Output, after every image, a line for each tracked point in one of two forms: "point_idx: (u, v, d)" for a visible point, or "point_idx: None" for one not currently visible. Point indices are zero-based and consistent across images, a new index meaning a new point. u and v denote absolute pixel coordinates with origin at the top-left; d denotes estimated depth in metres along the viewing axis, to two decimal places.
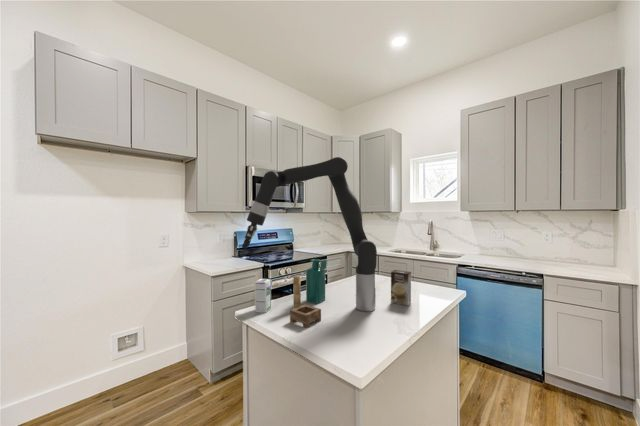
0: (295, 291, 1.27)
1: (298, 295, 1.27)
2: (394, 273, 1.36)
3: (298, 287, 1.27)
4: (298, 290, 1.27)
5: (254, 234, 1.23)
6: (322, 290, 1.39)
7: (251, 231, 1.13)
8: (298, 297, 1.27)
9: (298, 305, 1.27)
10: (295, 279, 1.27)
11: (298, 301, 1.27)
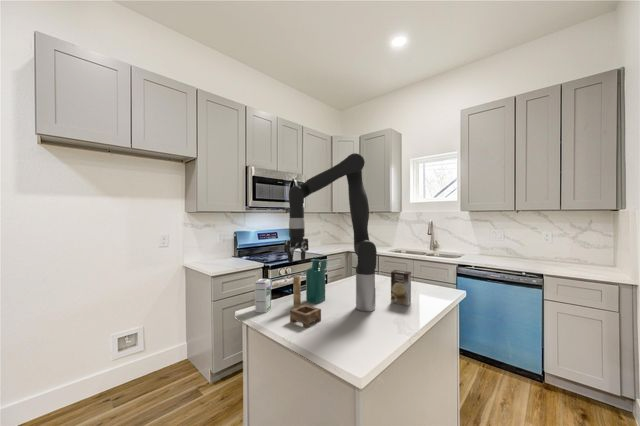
0: (295, 291, 1.27)
1: (298, 295, 1.27)
2: (394, 273, 1.36)
3: (298, 287, 1.27)
4: (298, 290, 1.27)
5: (303, 247, 1.29)
6: (322, 290, 1.39)
7: (287, 245, 1.23)
8: (298, 297, 1.27)
9: (298, 305, 1.27)
10: (295, 279, 1.27)
11: (298, 301, 1.27)
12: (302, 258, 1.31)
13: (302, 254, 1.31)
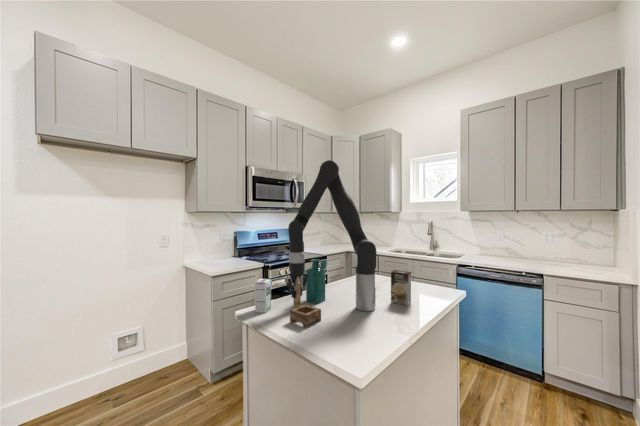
0: None
1: (298, 295, 1.27)
2: (394, 273, 1.36)
3: (298, 287, 1.27)
4: (298, 290, 1.27)
5: (301, 282, 1.28)
6: (322, 290, 1.39)
7: (288, 283, 1.24)
8: (298, 297, 1.27)
9: (298, 305, 1.27)
10: None
11: (298, 301, 1.27)
12: None
13: None
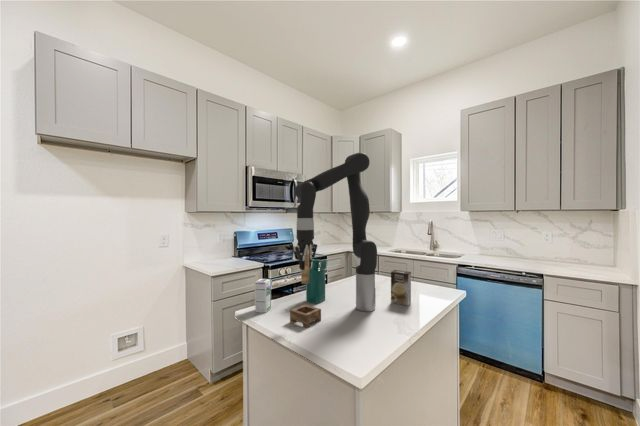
0: None
1: (307, 266, 1.13)
2: (394, 273, 1.36)
3: (307, 257, 1.13)
4: (307, 261, 1.13)
5: (310, 252, 1.14)
6: (322, 290, 1.39)
7: (296, 252, 1.09)
8: (307, 269, 1.13)
9: (307, 278, 1.13)
10: None
11: (307, 273, 1.13)
12: None
13: None
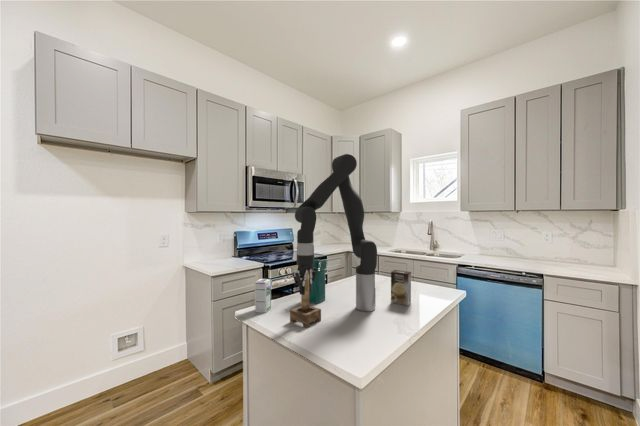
0: None
1: (307, 291, 1.13)
2: (394, 273, 1.36)
3: (307, 282, 1.13)
4: (307, 286, 1.13)
5: (310, 276, 1.14)
6: (322, 290, 1.39)
7: (296, 278, 1.09)
8: (307, 294, 1.13)
9: (307, 303, 1.13)
10: None
11: (307, 298, 1.13)
12: None
13: None
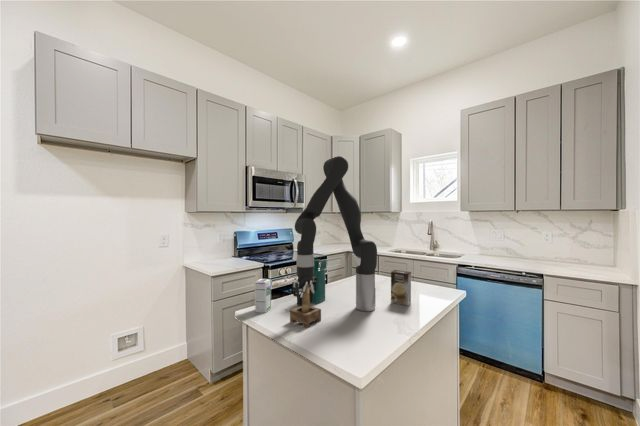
0: (303, 301, 1.12)
1: (307, 305, 1.13)
2: (394, 273, 1.36)
3: (307, 296, 1.13)
4: (307, 300, 1.13)
5: (311, 287, 1.15)
6: (322, 290, 1.39)
7: (295, 288, 1.09)
8: (307, 308, 1.13)
9: None
10: None
11: (307, 312, 1.13)
12: (310, 300, 1.16)
13: (310, 295, 1.16)
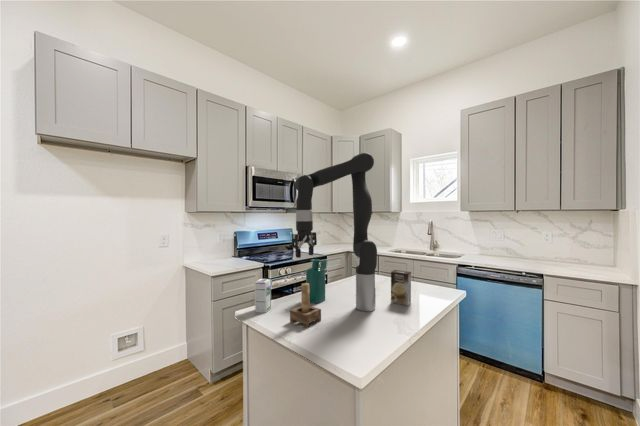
0: (303, 301, 1.12)
1: (307, 305, 1.13)
2: (394, 273, 1.36)
3: (307, 296, 1.13)
4: (307, 300, 1.13)
5: (311, 241, 1.21)
6: (322, 290, 1.39)
7: (294, 239, 1.14)
8: (307, 308, 1.13)
9: None
10: (303, 287, 1.12)
11: (307, 312, 1.13)
12: (310, 253, 1.22)
13: (310, 249, 1.23)
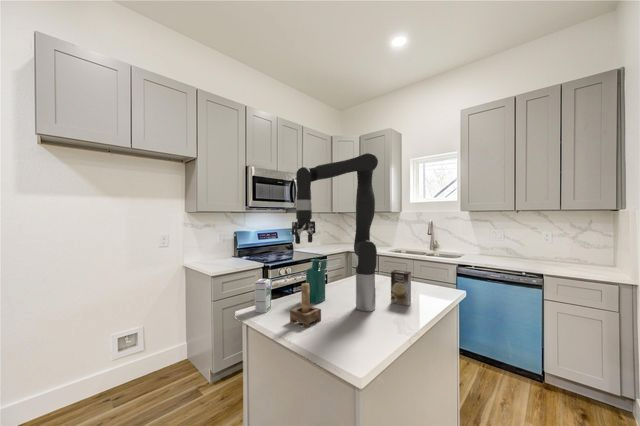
0: (303, 301, 1.12)
1: (307, 305, 1.13)
2: (394, 273, 1.36)
3: (307, 296, 1.13)
4: (307, 300, 1.13)
5: (310, 229, 1.29)
6: (322, 290, 1.39)
7: (294, 226, 1.23)
8: (307, 308, 1.13)
9: None
10: (303, 287, 1.12)
11: (307, 312, 1.13)
12: (309, 241, 1.31)
13: (309, 237, 1.31)
